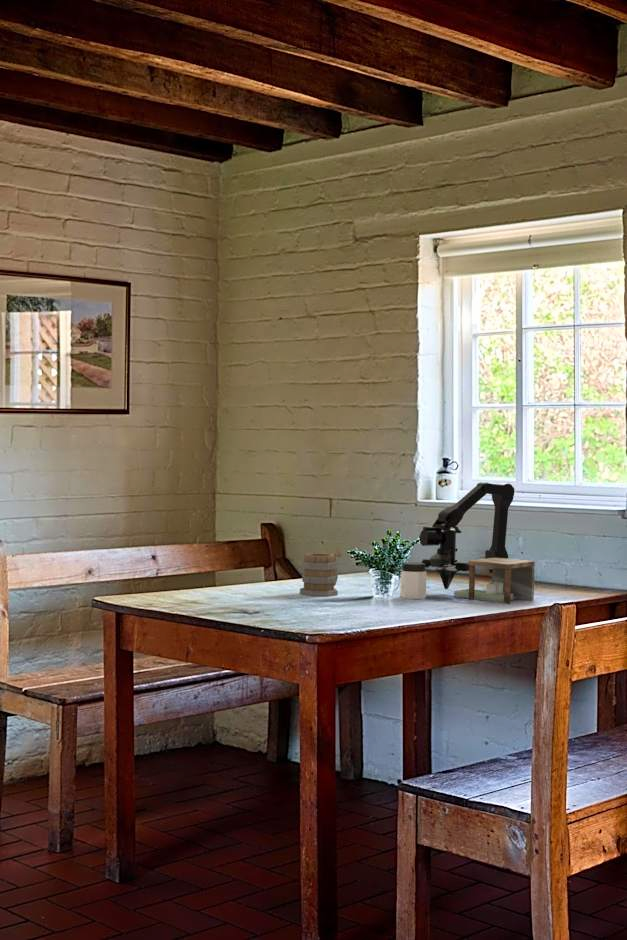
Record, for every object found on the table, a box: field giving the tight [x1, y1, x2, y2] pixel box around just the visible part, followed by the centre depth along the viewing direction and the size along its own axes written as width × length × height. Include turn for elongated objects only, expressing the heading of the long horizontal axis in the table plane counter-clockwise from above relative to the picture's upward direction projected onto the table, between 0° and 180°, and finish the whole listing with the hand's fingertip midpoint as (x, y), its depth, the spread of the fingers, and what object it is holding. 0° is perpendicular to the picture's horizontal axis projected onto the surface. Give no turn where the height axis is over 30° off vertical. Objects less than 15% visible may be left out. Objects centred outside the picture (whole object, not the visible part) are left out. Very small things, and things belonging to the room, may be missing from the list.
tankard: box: [299, 549, 343, 598], centre depth 452 cm, size 20×13×15 cm, turn 143°
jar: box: [399, 561, 427, 600], centre depth 446 cm, size 9×8×12 cm
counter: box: [467, 558, 536, 605], centre depth 446 cm, size 18×16×14 cm
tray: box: [453, 582, 514, 603], centre depth 450 cm, size 10×18×6 cm, turn 51°
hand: (446, 588), depth 459 cm, fingers closed
